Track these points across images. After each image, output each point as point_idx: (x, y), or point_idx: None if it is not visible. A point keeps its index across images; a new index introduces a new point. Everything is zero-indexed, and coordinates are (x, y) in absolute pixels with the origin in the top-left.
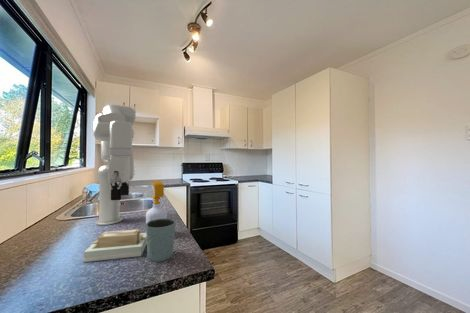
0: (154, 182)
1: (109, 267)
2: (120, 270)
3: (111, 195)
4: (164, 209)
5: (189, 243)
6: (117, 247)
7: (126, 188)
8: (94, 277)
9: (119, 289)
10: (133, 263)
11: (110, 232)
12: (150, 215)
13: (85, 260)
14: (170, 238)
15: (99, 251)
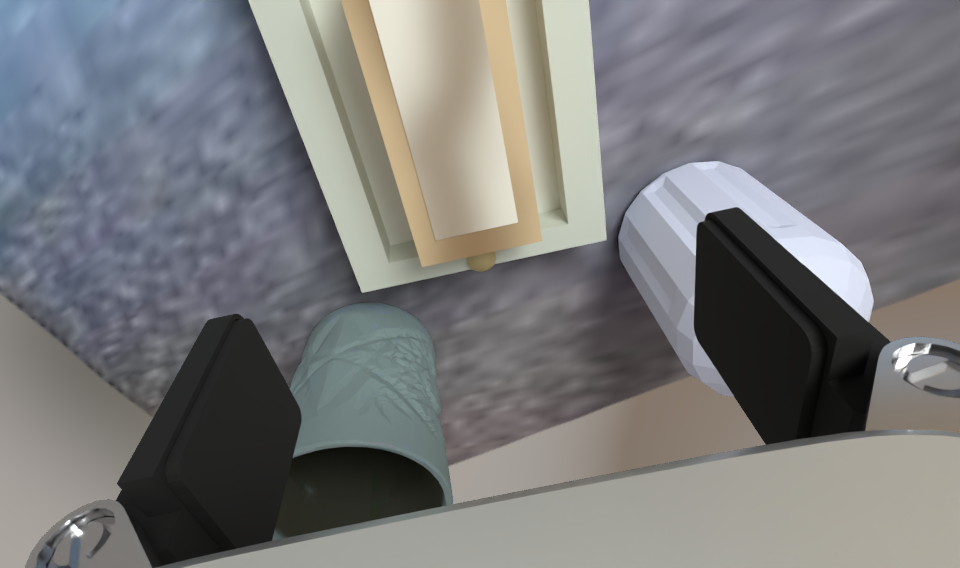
0: None
1: (207, 162)
2: (194, 237)
3: (184, 380)
4: None
5: (512, 428)
6: (331, 153)
7: (758, 403)
8: (94, 143)
9: (60, 310)
10: (274, 265)
11: (469, 17)
12: (692, 308)
13: None
14: (333, 480)
15: (266, 42)
